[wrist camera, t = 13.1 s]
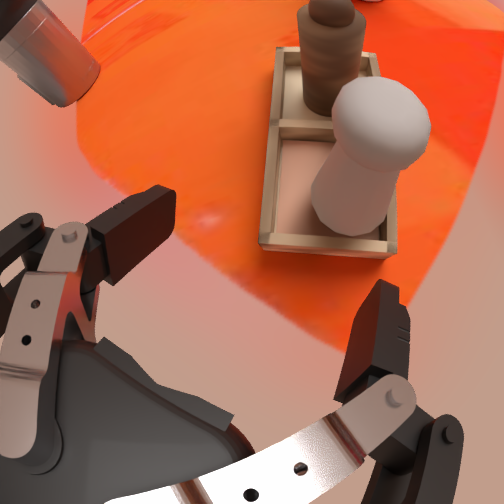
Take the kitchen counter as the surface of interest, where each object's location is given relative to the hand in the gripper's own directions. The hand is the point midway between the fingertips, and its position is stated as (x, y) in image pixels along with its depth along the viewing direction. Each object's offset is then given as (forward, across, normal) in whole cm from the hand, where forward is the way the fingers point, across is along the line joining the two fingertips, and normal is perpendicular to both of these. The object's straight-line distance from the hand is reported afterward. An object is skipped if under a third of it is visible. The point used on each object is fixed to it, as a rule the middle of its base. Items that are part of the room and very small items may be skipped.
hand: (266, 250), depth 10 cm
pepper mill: (+20, +2, -4) cm, 21 cm away
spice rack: (+18, +1, 0) cm, 18 cm away
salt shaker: (+13, -3, +3) cm, 14 cm away
